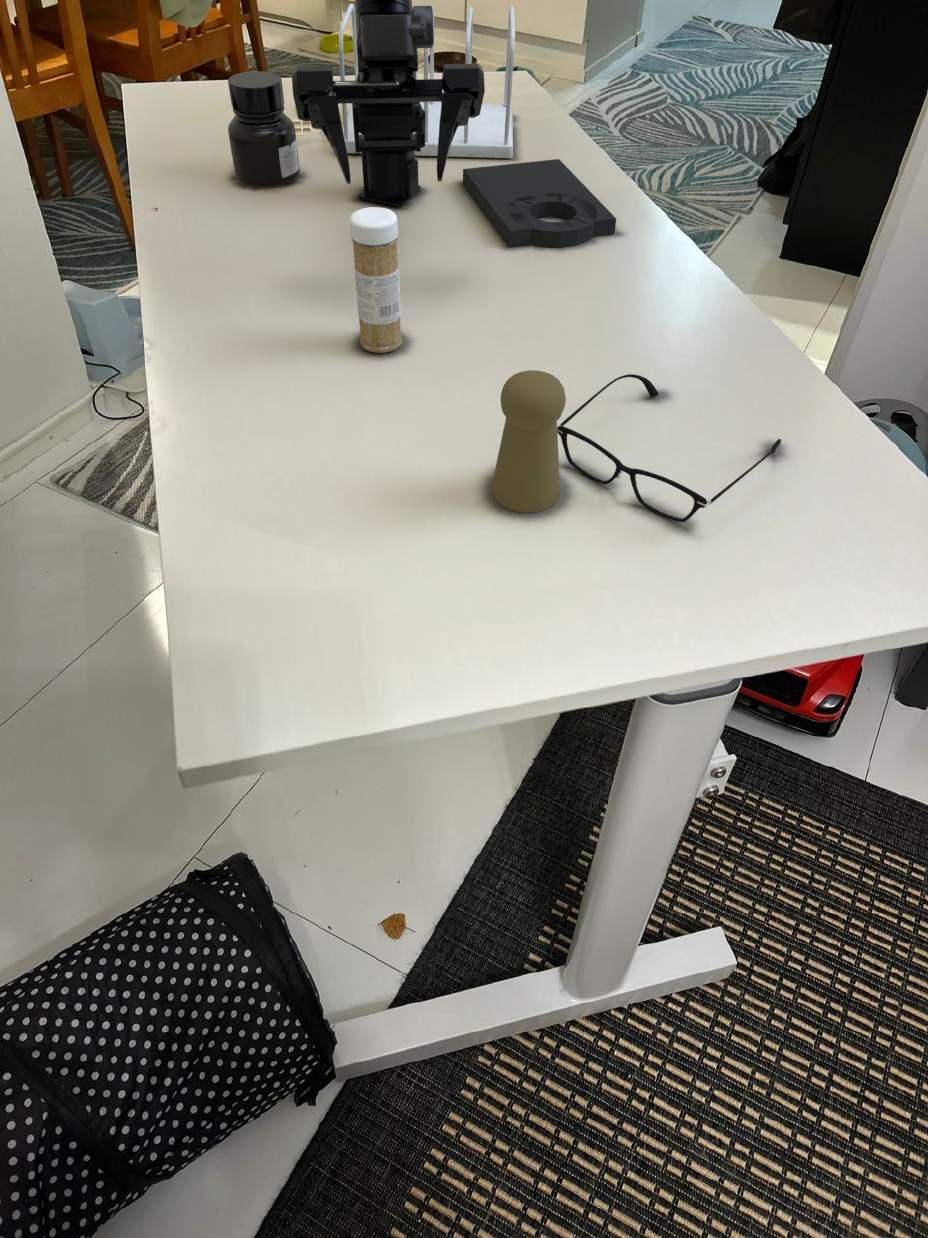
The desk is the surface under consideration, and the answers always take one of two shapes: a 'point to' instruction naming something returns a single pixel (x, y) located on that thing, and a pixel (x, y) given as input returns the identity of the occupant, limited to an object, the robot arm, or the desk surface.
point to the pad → (538, 203)
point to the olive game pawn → (529, 443)
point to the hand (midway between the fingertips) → (394, 180)
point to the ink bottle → (261, 131)
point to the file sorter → (472, 140)
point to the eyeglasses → (698, 499)
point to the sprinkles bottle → (377, 278)
